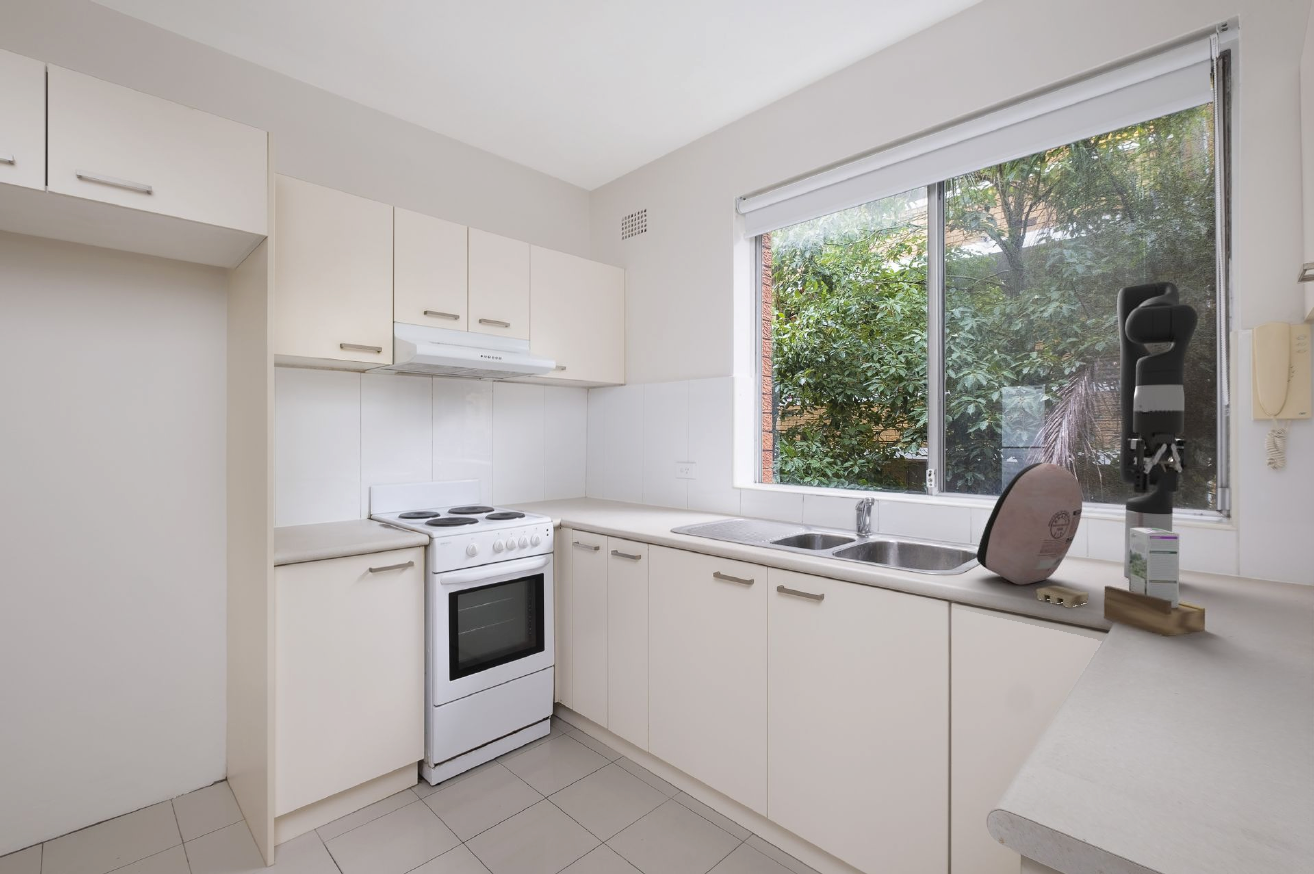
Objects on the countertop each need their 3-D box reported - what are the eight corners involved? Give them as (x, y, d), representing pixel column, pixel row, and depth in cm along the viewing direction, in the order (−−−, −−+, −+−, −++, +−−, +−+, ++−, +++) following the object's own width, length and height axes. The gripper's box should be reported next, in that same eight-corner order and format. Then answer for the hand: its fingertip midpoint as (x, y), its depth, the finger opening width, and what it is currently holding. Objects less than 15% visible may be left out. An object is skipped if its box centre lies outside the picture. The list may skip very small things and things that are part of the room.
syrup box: (1180, 608, 112) (1182, 532, 111) (1145, 606, 113) (1147, 531, 112) (1159, 600, 117) (1161, 527, 117) (1126, 598, 118) (1128, 526, 118)
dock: (1140, 612, 122) (1141, 582, 122) (1204, 630, 111) (1205, 596, 111) (1103, 617, 118) (1104, 586, 118) (1166, 636, 108) (1167, 601, 108)
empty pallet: (1053, 595, 134) (1053, 585, 134) (1088, 603, 128) (1088, 593, 128) (1036, 599, 130) (1036, 589, 130) (1071, 608, 124) (1071, 597, 124)
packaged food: (1013, 568, 160) (1015, 458, 159) (1095, 585, 143) (1098, 463, 142) (964, 578, 149) (967, 460, 148) (1048, 598, 132) (1051, 465, 131)
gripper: (1160, 410, 120) (1158, 489, 120) (1112, 409, 115) (1110, 491, 116) (1205, 409, 113) (1202, 493, 113) (1155, 408, 108) (1153, 495, 109)
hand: (1156, 492), depth 114 cm, fingers open, 8 cm apart
